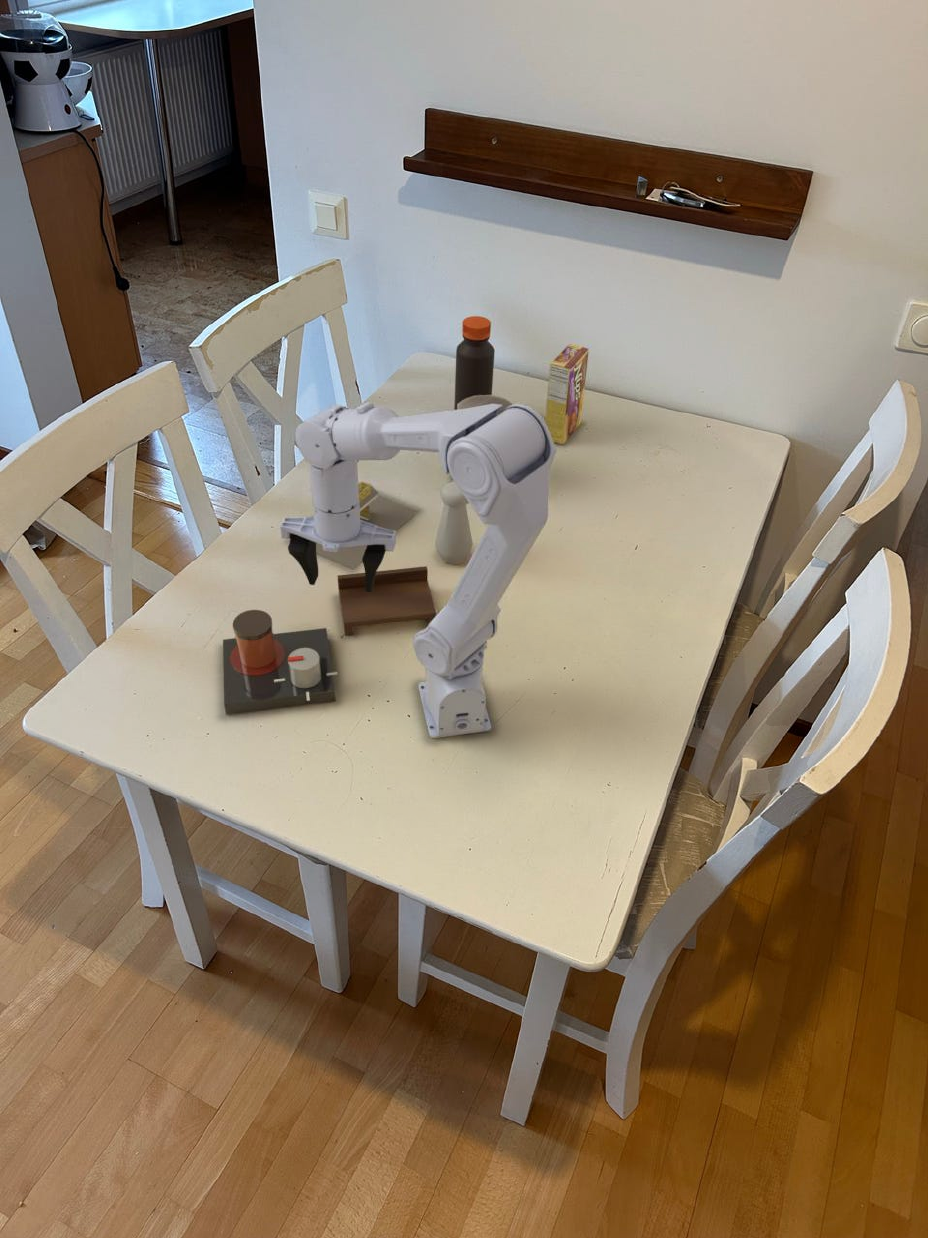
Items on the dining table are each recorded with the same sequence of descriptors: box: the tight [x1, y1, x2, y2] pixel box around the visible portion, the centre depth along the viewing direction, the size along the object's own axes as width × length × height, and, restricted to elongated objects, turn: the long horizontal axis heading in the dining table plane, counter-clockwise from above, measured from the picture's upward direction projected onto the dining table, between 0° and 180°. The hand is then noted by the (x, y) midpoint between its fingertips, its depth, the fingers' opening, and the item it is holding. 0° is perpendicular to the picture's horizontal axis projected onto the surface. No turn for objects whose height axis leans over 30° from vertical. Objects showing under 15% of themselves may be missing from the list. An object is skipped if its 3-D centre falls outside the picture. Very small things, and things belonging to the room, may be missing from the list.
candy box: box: [544, 343, 590, 445], centre depth 165 cm, size 9×4×15 cm, turn 152°
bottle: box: [453, 315, 495, 410], centre depth 164 cm, size 7×7×20 cm
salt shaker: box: [434, 481, 474, 565], centre depth 138 cm, size 6×6×13 cm
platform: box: [316, 481, 419, 570], centre depth 145 cm, size 12×18×7 cm, turn 149°
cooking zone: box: [230, 640, 285, 676], centre depth 122 cm, size 7×7×1 cm
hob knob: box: [288, 648, 321, 688], centre depth 118 cm, size 4×4×4 cm
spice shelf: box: [336, 565, 437, 636], centre depth 131 cm, size 8×13×4 cm, turn 102°
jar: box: [232, 609, 276, 668], centre depth 120 cm, size 5×5×6 cm
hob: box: [222, 627, 338, 716], centre depth 121 cm, size 13×15×2 cm
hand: (342, 583), depth 122 cm, fingers open, 7 cm apart
